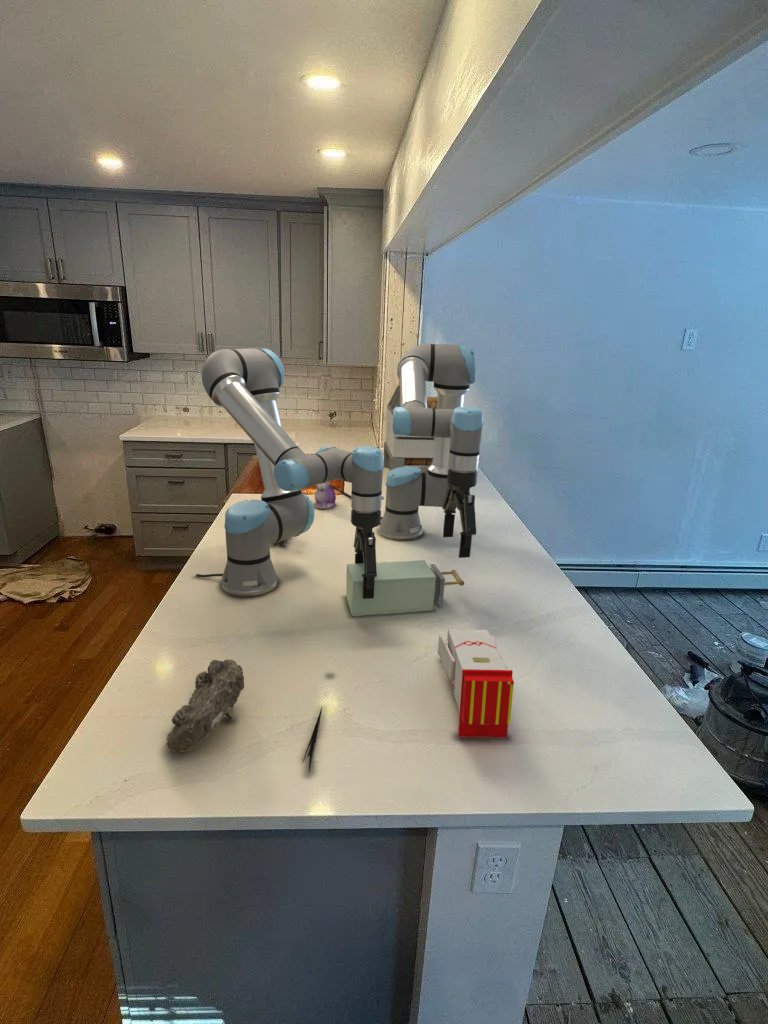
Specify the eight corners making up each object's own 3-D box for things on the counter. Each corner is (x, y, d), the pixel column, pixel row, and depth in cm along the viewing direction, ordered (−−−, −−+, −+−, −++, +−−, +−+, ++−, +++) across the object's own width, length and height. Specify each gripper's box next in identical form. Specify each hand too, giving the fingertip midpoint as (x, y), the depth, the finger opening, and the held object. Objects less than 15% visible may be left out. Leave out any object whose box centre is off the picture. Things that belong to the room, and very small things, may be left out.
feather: (331, 679, 122) (336, 673, 122) (307, 777, 96) (313, 769, 95) (324, 675, 122) (329, 669, 121) (298, 772, 95) (304, 764, 95)
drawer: (453, 588, 160) (455, 562, 158) (463, 603, 152) (466, 577, 149) (361, 593, 155) (362, 567, 152) (367, 610, 146) (368, 583, 144)
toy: (488, 613, 130) (523, 677, 101) (484, 667, 133) (517, 744, 104) (435, 612, 130) (455, 676, 101) (432, 666, 133) (451, 743, 103)
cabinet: (422, 592, 159) (424, 560, 156) (433, 610, 150) (435, 576, 147) (346, 597, 155) (346, 564, 151) (352, 616, 145) (353, 581, 142)
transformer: (382, 463, 289) (386, 382, 275) (445, 464, 293) (451, 384, 279) (390, 482, 257) (394, 392, 243) (460, 483, 261) (468, 394, 247)
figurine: (318, 511, 218) (318, 473, 213) (309, 502, 226) (309, 466, 221) (341, 508, 222) (341, 471, 217) (331, 500, 231) (331, 464, 226)
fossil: (192, 660, 117) (244, 628, 112) (224, 691, 120) (276, 661, 115) (142, 746, 98) (202, 712, 93) (182, 779, 101) (242, 748, 96)
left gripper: (391, 526, 131) (387, 608, 139) (371, 493, 154) (369, 566, 161) (359, 527, 130) (357, 610, 137) (344, 494, 152) (343, 567, 159)
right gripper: (495, 483, 133) (486, 565, 140) (460, 457, 156) (454, 528, 163) (465, 484, 131) (457, 567, 139) (434, 457, 154) (429, 529, 162)
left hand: (363, 586), depth 149 cm, fingers open, 12 cm apart
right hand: (455, 546), depth 151 cm, fingers open, 13 cm apart
